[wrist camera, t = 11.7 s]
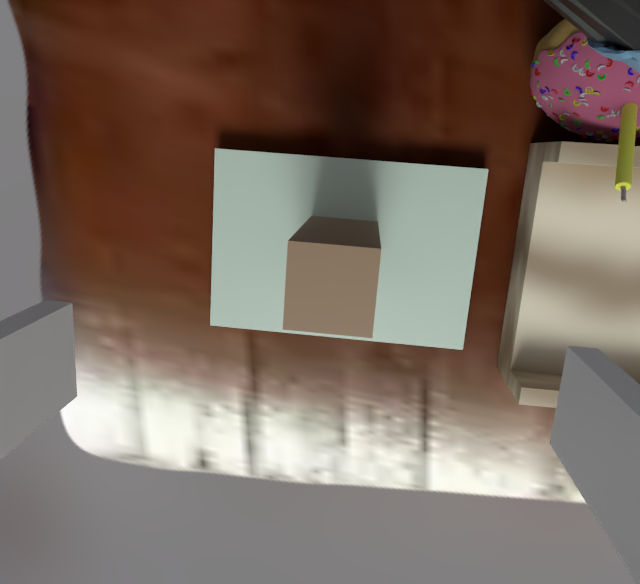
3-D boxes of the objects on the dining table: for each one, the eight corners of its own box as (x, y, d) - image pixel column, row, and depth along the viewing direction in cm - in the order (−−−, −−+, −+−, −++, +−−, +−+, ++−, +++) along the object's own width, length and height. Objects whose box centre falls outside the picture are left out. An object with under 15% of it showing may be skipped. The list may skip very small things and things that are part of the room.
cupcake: (633, -107, 24) (574, 146, 21) (790, -21, 25) (750, 223, 23) (517, 15, 32) (466, 206, 30) (640, 74, 33) (600, 260, 31)
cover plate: (221, 148, 35) (151, 145, 24) (483, 168, 34) (539, 175, 22) (216, 318, 37) (151, 388, 26) (458, 342, 36) (498, 424, 25)
